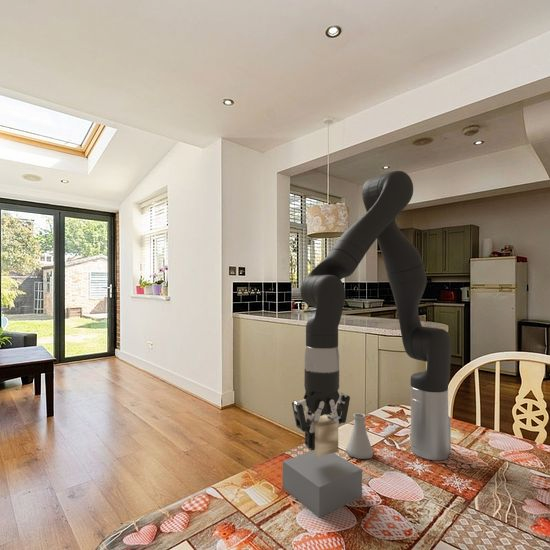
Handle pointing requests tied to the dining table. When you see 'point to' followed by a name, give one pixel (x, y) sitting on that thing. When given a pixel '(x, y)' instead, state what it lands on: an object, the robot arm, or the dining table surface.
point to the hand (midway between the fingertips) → (321, 445)
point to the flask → (359, 439)
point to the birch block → (325, 436)
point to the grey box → (322, 481)
